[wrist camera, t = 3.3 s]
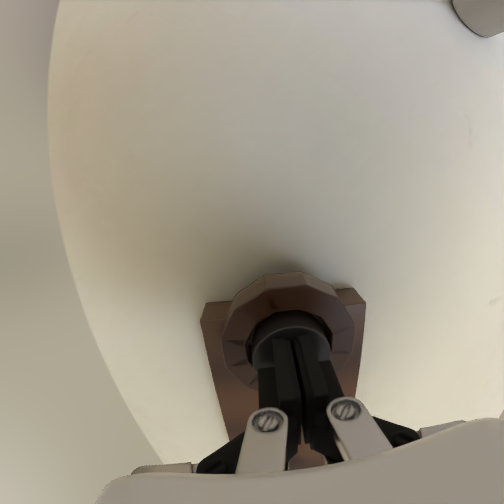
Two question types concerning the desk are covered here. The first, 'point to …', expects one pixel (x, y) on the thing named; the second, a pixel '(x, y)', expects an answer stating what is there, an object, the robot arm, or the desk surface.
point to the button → (286, 336)
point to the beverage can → (481, 15)
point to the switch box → (241, 333)
